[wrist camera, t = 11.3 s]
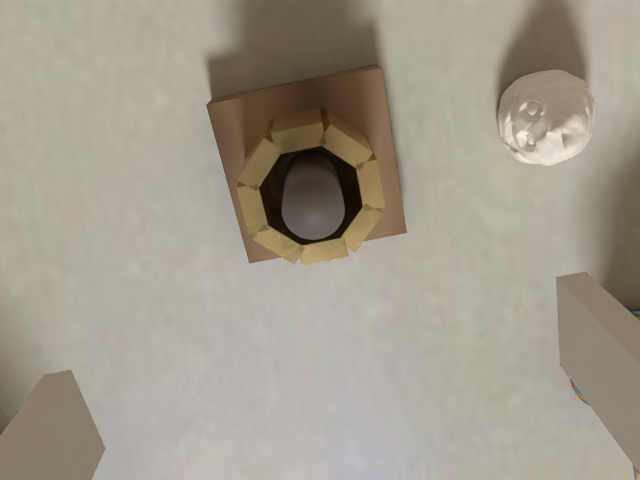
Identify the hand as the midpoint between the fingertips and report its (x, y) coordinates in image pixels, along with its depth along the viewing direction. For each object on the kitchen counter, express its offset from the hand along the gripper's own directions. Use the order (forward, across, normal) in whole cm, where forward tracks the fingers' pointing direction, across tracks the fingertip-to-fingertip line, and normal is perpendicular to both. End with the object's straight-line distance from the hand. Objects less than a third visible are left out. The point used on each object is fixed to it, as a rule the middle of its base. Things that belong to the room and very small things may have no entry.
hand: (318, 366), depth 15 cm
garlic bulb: (+22, +14, 0) cm, 26 cm away
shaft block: (+22, 0, 0) cm, 22 cm away
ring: (+20, 0, 0) cm, 20 cm away
